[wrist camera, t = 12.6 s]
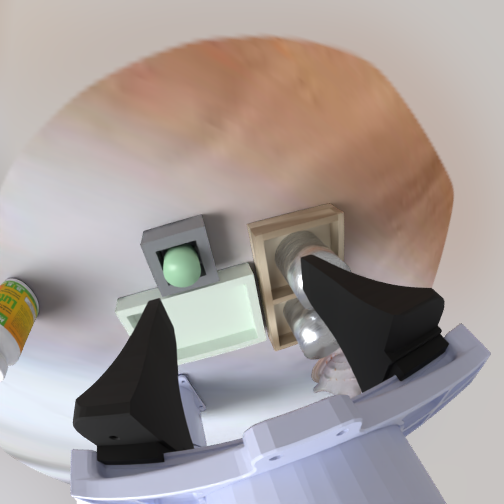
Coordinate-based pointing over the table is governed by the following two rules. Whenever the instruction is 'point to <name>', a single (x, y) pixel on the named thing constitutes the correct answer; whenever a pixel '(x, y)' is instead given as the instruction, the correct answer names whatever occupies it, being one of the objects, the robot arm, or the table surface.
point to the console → (174, 235)
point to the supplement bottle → (15, 321)
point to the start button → (181, 265)
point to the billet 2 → (309, 330)
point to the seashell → (335, 375)
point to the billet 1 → (291, 262)
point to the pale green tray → (206, 314)
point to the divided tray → (268, 275)
